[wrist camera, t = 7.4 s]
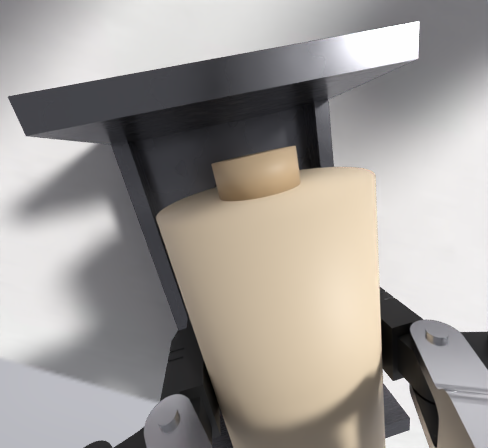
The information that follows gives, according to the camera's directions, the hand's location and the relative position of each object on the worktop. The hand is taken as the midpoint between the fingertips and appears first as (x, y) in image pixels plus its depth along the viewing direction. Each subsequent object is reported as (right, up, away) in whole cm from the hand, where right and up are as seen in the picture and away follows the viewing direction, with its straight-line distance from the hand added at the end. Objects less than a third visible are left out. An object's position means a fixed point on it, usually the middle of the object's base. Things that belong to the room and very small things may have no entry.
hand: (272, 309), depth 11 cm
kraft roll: (0, 0, +1) cm, 1 cm away
